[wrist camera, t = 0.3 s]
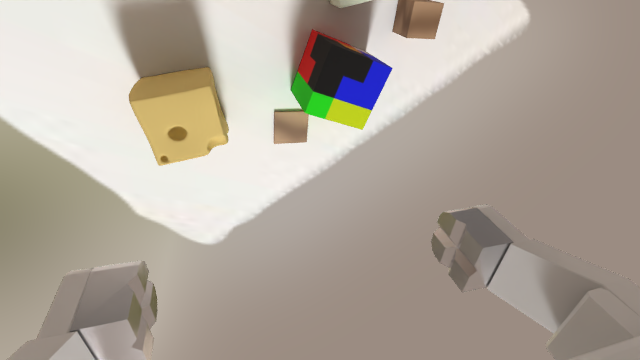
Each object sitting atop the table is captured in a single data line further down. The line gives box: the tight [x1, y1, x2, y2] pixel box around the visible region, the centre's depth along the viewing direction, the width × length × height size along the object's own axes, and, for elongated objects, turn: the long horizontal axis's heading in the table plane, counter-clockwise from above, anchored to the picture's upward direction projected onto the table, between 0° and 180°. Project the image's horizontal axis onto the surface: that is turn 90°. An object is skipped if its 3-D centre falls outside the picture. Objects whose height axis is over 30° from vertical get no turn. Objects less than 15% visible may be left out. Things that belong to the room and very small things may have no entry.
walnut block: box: [392, 0, 444, 39], centre depth 52 cm, size 5×5×5 cm
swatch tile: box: [274, 111, 309, 144], centre depth 59 cm, size 6×6×1 cm
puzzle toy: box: [291, 29, 392, 130], centre depth 51 cm, size 10×10×10 cm
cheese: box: [129, 67, 229, 165], centre depth 47 cm, size 10×11×10 cm
